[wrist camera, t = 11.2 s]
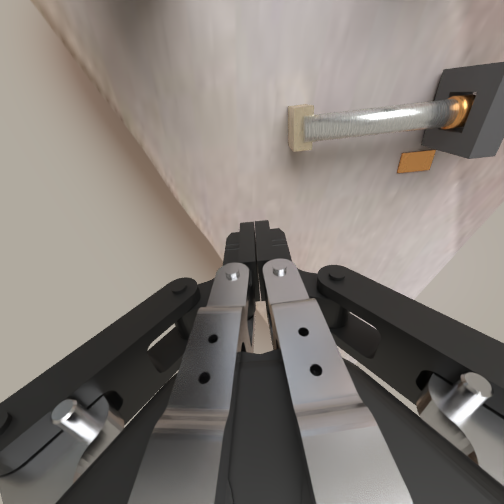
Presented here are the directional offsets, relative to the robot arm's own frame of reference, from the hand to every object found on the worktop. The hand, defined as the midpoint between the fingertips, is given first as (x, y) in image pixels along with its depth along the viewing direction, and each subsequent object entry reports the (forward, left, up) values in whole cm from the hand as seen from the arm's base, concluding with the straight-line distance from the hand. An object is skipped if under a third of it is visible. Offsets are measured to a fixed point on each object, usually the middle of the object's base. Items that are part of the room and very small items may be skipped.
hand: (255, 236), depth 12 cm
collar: (-2, +27, -27) cm, 38 cm away
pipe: (+1, +20, -27) cm, 34 cm away
